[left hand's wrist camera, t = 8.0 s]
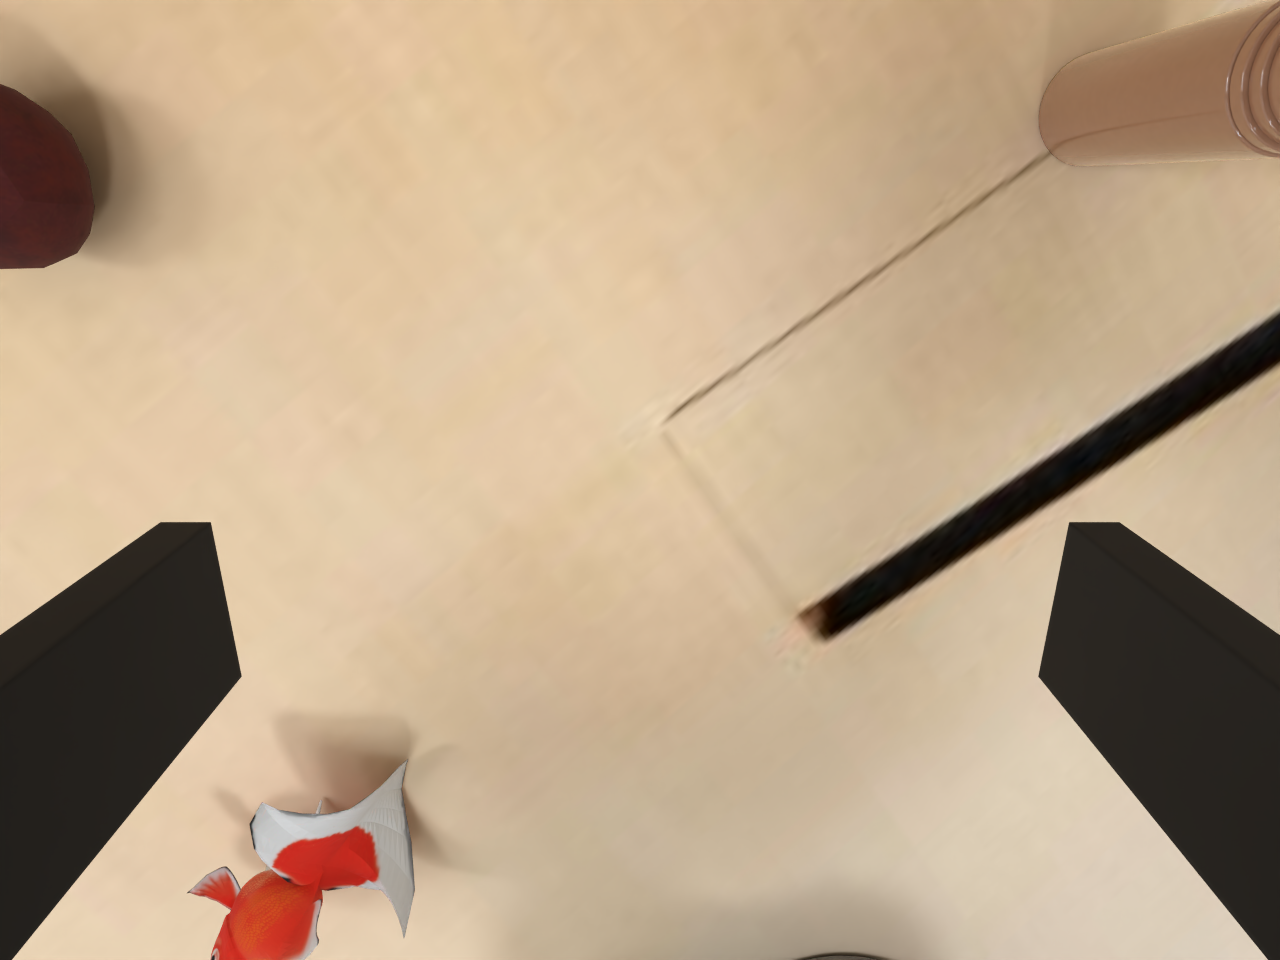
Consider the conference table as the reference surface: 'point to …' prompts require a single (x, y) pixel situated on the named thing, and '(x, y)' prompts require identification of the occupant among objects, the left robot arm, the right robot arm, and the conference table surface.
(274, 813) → the fish
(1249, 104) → the bottle
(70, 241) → the dark maroon ball
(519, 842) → the conference table surface
